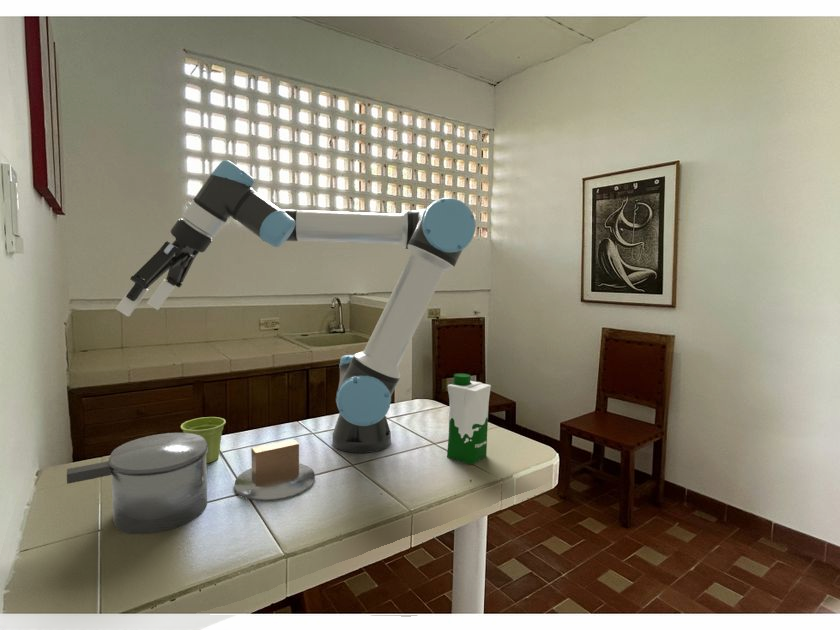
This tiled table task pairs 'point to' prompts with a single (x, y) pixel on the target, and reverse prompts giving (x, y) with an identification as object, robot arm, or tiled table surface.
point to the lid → (275, 473)
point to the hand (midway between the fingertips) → (138, 309)
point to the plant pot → (207, 433)
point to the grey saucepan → (154, 481)
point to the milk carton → (468, 419)
